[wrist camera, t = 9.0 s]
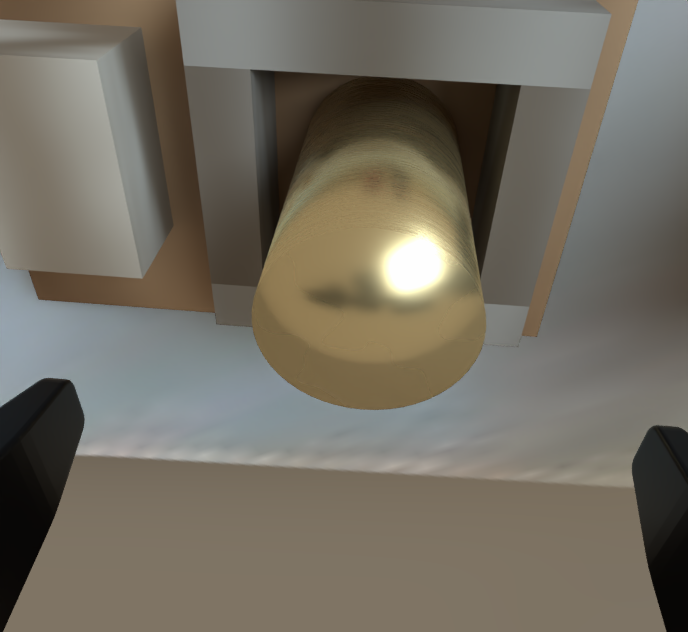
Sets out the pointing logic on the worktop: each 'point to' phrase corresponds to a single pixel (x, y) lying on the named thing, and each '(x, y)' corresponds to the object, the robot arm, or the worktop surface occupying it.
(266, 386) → the worktop surface
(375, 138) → the cylinder
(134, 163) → the jig
